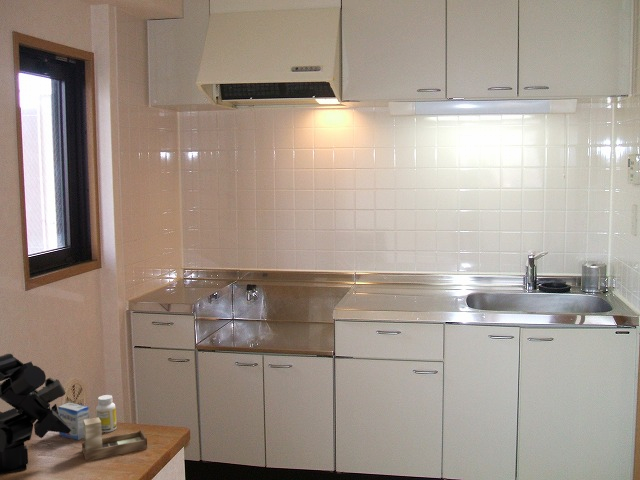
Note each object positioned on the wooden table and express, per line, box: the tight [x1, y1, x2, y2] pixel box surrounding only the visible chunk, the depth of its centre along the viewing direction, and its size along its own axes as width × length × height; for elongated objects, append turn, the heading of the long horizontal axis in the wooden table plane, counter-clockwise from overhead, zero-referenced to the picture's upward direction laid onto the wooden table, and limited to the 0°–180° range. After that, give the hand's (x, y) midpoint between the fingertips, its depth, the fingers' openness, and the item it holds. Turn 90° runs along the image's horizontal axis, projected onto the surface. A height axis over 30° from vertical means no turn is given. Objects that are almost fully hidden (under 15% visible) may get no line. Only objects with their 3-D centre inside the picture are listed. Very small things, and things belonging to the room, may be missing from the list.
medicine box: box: [57, 402, 90, 441], centre depth 196 cm, size 8×4×9 cm, turn 62°
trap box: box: [81, 428, 148, 462], centre depth 186 cm, size 16×7×3 cm, turn 117°
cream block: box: [83, 416, 103, 451], centre depth 183 cm, size 4×4×8 cm
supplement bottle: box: [95, 394, 117, 433], centre depth 199 cm, size 5×5×10 cm
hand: (69, 431), depth 180 cm, fingers closed
